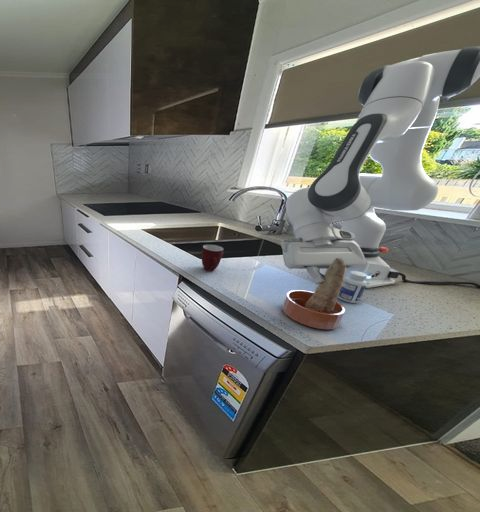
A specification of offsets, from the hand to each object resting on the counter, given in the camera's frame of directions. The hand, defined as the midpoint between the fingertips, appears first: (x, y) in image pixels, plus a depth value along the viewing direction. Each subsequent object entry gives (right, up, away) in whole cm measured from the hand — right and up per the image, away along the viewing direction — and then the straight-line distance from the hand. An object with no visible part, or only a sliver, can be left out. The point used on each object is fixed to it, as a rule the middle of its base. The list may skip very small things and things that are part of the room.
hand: (331, 282), depth 68 cm
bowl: (-1, -11, +6) cm, 13 cm away
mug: (-17, +1, +37) cm, 40 cm away
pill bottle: (+20, -7, +15) cm, 26 cm away
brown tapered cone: (0, -9, +5) cm, 10 cm away
